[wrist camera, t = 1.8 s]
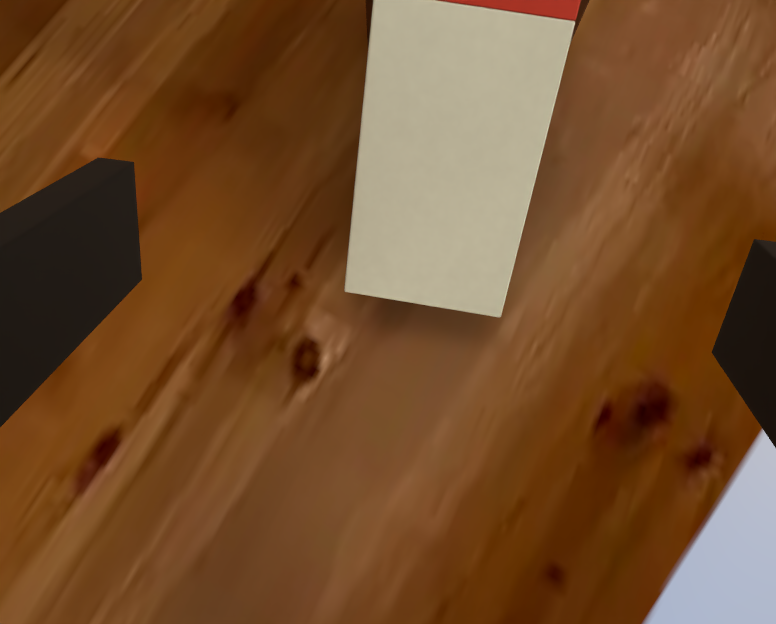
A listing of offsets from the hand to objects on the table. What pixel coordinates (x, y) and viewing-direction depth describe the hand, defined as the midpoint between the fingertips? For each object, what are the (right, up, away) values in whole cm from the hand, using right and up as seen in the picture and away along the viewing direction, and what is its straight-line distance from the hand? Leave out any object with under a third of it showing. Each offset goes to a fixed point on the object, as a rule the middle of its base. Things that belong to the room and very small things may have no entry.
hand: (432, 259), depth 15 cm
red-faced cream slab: (+2, +5, +18) cm, 19 cm away
